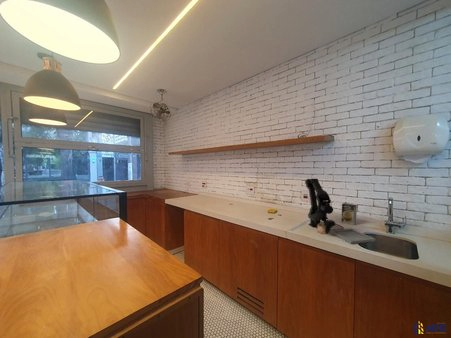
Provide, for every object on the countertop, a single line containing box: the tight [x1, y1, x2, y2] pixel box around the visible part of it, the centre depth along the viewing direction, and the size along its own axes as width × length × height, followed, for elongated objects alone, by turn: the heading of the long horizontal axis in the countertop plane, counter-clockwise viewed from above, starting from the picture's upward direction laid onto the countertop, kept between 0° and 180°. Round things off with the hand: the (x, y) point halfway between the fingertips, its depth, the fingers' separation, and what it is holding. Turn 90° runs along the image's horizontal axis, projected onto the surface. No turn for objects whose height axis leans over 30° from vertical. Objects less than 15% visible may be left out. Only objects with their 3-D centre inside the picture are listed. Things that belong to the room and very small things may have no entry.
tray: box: [329, 228, 376, 245], centre depth 125 cm, size 18×18×2 cm
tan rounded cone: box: [316, 222, 327, 235], centre depth 133 cm, size 6×6×6 cm
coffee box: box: [341, 202, 358, 226], centre depth 153 cm, size 9×6×16 cm
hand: (322, 231), depth 133 cm, fingers open, 9 cm apart
